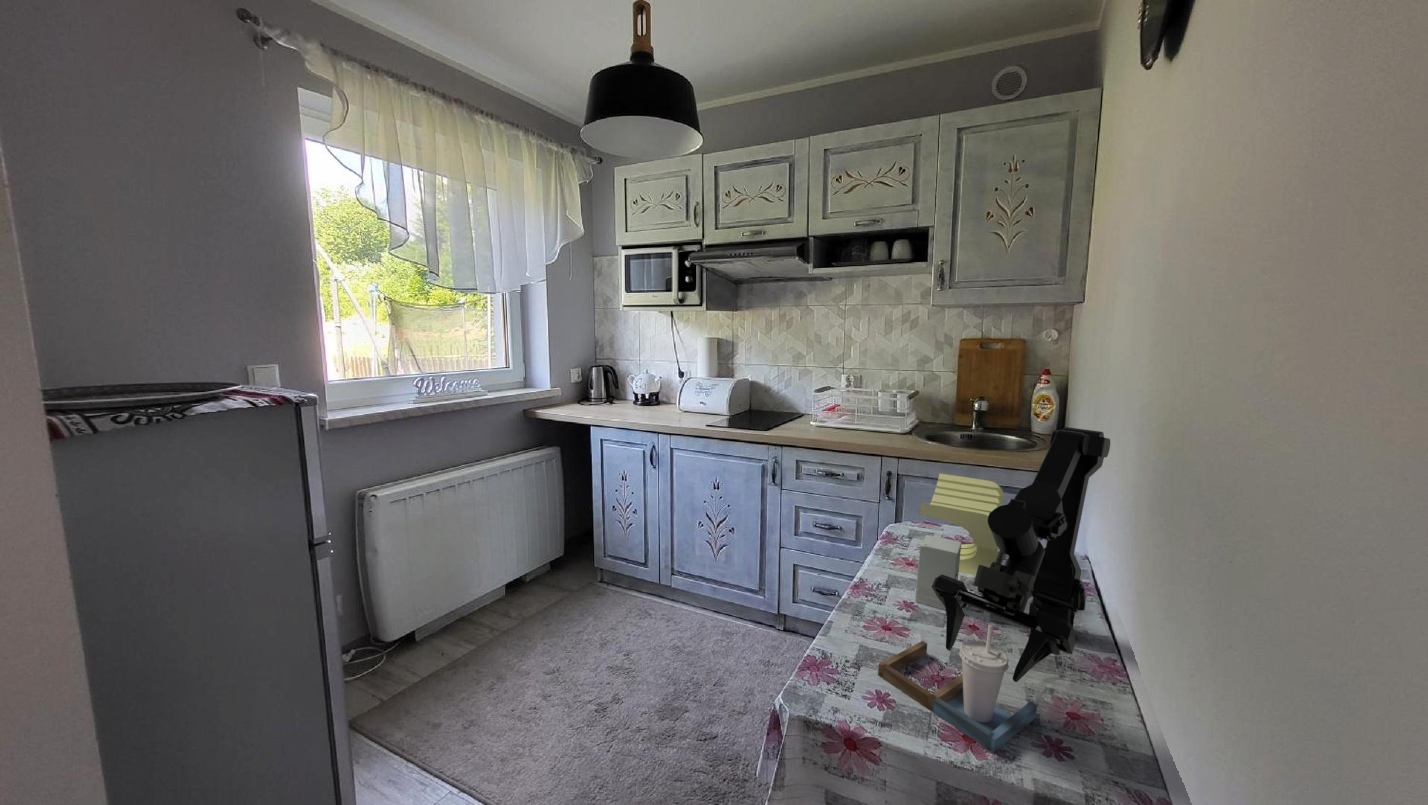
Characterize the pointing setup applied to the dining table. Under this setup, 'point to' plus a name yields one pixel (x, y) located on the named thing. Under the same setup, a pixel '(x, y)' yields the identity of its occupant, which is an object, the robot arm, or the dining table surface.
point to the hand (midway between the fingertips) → (979, 664)
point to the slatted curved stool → (968, 515)
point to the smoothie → (982, 677)
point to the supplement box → (936, 567)
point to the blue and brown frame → (955, 703)
